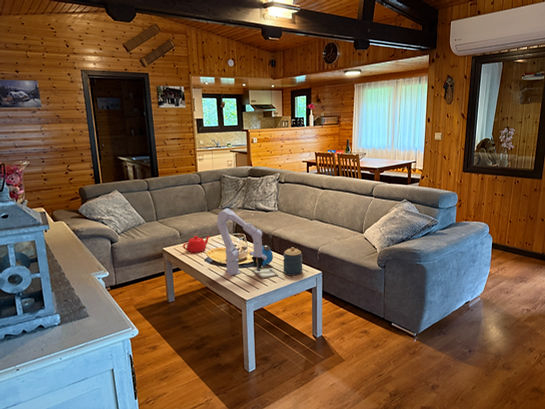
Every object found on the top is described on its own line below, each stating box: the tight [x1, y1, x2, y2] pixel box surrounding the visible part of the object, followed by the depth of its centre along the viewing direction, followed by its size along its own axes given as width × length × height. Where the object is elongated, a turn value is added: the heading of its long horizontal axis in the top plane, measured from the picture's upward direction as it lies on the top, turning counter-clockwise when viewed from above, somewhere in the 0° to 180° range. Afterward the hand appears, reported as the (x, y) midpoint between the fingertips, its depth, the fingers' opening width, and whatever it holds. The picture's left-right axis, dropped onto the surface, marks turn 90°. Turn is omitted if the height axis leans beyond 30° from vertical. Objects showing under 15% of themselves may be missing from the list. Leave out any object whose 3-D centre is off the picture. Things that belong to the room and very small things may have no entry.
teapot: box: [182, 235, 211, 254], centre depth 296 cm, size 25×16×12 cm, turn 132°
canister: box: [282, 246, 303, 276], centre depth 246 cm, size 13×13×18 cm
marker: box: [256, 257, 261, 271], centre depth 245 cm, size 3×3×9 cm
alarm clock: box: [262, 244, 274, 267], centre depth 261 cm, size 13×6×15 cm, turn 52°
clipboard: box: [251, 266, 279, 280], centre depth 247 cm, size 16×12×1 cm
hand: (258, 267), depth 245 cm, fingers closed on marker, 3 cm apart
